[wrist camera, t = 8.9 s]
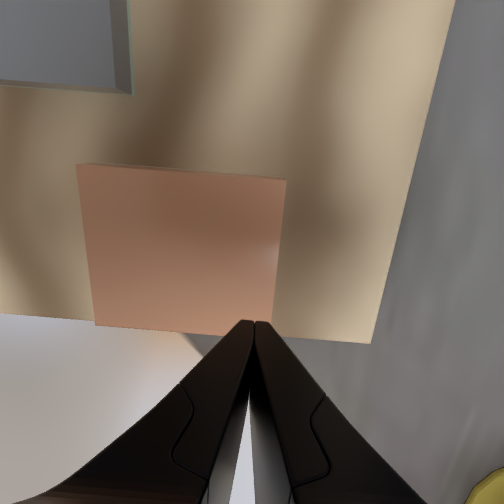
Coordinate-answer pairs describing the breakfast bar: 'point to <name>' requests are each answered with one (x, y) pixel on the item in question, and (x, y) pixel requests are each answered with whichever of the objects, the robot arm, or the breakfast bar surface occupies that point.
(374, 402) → the breakfast bar surface
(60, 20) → the slate tile
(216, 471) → the robot arm
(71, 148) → the oak board
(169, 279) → the terracotta tile
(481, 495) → the candle
